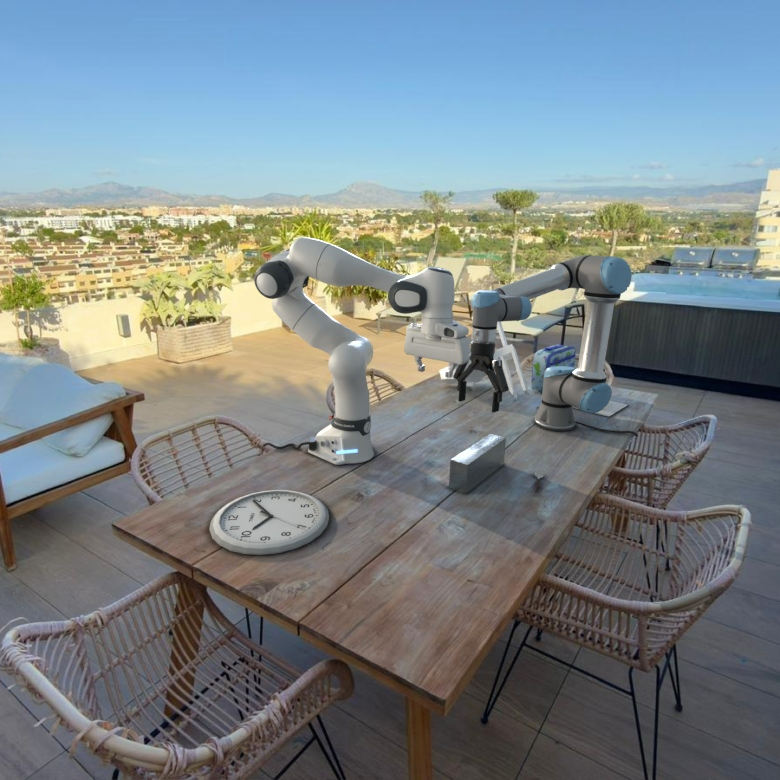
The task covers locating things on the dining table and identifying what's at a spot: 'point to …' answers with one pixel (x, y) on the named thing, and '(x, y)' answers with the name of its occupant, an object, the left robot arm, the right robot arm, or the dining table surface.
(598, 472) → the dining table surface
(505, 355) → the white plastic object
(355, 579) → the dining table surface
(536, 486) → the fork
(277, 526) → the wall clock
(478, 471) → the bar
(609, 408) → the invitation card
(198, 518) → the dining table surface
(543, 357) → the lunch box
